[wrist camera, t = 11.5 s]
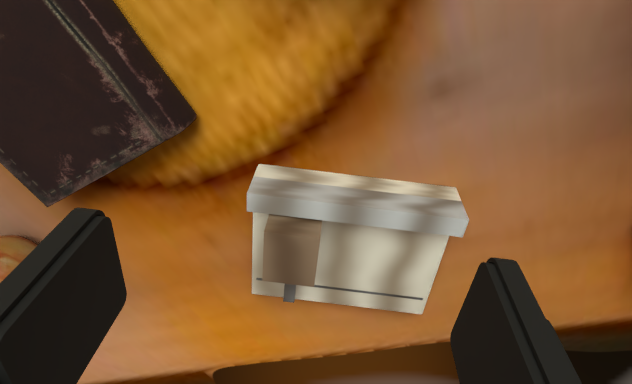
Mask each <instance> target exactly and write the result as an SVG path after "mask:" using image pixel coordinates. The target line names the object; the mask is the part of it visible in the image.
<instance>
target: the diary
mask: <svg viewBox="0 0 632 384" xmlns="http://www.w3.org/2000/svg"><path fill="white" fill-rule="evenodd" d="M196 117H197V116H196V113H195V112H194V110H193V109H192V108H191V106H190V105H189V104H188V102H187V101H186V100H185V98H184V97H183V96H182V94H181V93H180V92H179V90H178V89H177V88H176V86H175V85H174V84H173V82H172V81H171V80H170V79H169V77H168V76H167V75H166V73H165V72H164V71H163V69H162V68H161V67H160V65H159V64H158V63H157V61H156V60H155V59H154V57H153V56H152V55H151V53H150V52H149V51H148V49H147V48H146V47H145V45H144V44H143V42H142V41H141V39H140V38H139V37H138V35H137V34H136V32H135V31H134V30H133V28H132V27H131V25H130V24H129V23H128V21H127V20H126V18H125V17H124V15H123V14H122V13H121V11H120V10H119V8H118V7H117V6H116V4H115V3H114V1H113V0H0V163H1V164H2V165H3V166H4V167H5V168H6V169H8V170H9V171H10V172H11V173H12V174H13V175H14V176H15V177H16V178H17V179H18V180H19V181H20V182H21V183H22V184H23V185H24V186H26V187H27V188H28V189H29V190H30V191H31V192H32V193H33V194H34V195H35V196H36V197H37V198H38V199H39V200H40V201H41V202H42V203H43V204H45V205H46V206H47V207H49V206H51V205H52V204H54V203H56V202H58V201H60V200H61V199H63V198H65V197H67V196H69V195H71V194H72V193H74V192H76V191H78V190H80V189H81V188H83V187H85V186H87V185H89V184H90V183H92V182H94V181H96V180H98V179H99V178H101V177H103V176H105V175H107V174H108V173H110V172H112V171H114V170H116V169H117V168H119V167H121V166H123V165H124V164H126V163H128V162H130V161H131V160H133V159H135V158H137V157H138V156H140V155H142V154H144V153H145V152H147V151H149V150H151V149H152V148H154V147H156V146H157V145H159V144H161V143H163V142H164V141H166V140H168V139H170V138H172V137H173V136H175V135H177V134H179V133H181V132H182V131H183V130H184V129H185V128H187V127H188V126H189V125H190V124H191V123H192V122H193V121H194V120H195V118H196Z"/></svg>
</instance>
